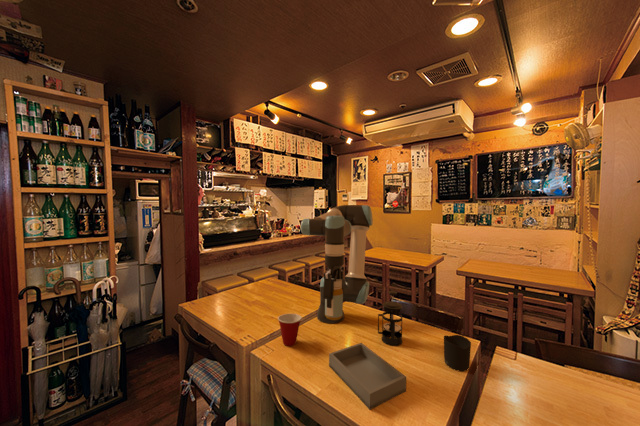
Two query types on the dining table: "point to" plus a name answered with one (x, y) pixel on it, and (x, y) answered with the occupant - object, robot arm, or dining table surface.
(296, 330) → the plastic cup
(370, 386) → the crate
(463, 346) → the pen holder
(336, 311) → the bottle
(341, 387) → the dining table surface
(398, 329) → the french press
